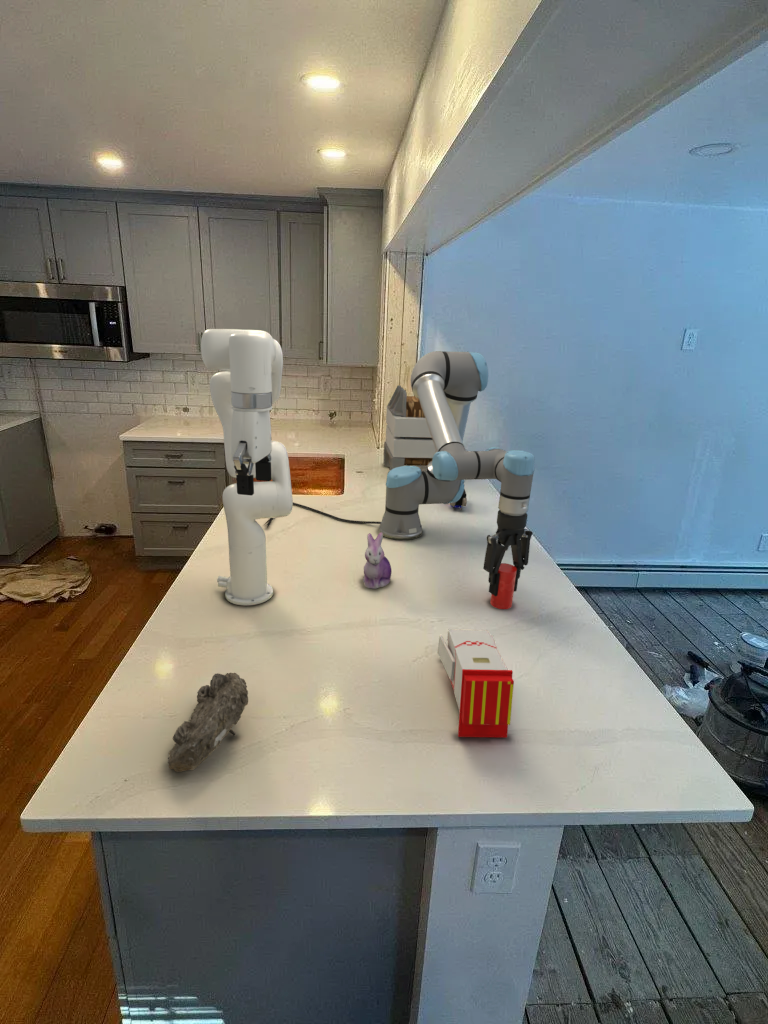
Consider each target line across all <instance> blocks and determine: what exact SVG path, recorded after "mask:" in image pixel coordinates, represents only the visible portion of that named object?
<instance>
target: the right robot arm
mask: <svg viewBox="0 0 768 1024" xmlns="http://www.w3.org/2000/svg"><path fill="white" fill-rule="evenodd" d="M488 382H489V368H488V363H487V361H486V358H485V356H484V355H483V354H481V353H480V352H475V351H474V352H472V351H469V350H468V351H445V350H444V351H442V350H434V351H430V352H427V353H426V354H424V355H423V356H421V357H420V358H419V359H418V360H417V361H416V363H415V364H414V366H413V368H412V371H411V374H410V388H411V390H412V391H411V392H412V394H413V395H414V396H415V397H416V398H418V399H419V401H420V404H421V407H422V410H423V413H424V416H425V419H426V422H427V425H428V428H429V431H430V434H431V437H432V440H433V443H434V446H435V452H434V456H433V460H432V461H431V462H430V463H429V464H428V466H426V470H422V469H421V467H420V466H407V465H404V466H401V467H397V468H394V469H392V470H390V469H389V470H388V472H387V475H386V480H385V481H386V482H385V504H384V505H385V507H384V508H385V509H384V513H383V515H382V519H381V521H368V520H367V521H365V520H353V519H346V518H342V517H338V516H336V515H332V514H329V513H327V512H324V511H321V510H318V509H317V508H313V507H311V506H307V505H303V504H300V503H297V502H293V506H296V507H300V508H304V509H306V510H310V511H312V512H316V513H318V514H321V515H324V516H326V517H329V518H332V519H335V520H338V521H341V522H345V523H351V524H352V523H353V524H366V525H367V524H369V525H371V524H373V525H378V533H381V532H382V533H383V538H384V537H385V538H387V539H389V540H395V541H410V540H415V539H418V538H420V537H421V536H422V535H423V525H422V524H421V518H420V515H419V507H420V505H435V504H437V505H439V504H443V505H448V504H450V503H454V502H457V501H458V500H459V499H460V498H461V496H462V494H463V491H464V489H465V481H469V480H470V481H471V480H497V481H498V482H500V489H499V490H500V491H499V500H498V506H497V508H498V511H497V516H496V525H497V529H496V531H495V533H494V534H492V535H490V534H487V536H486V538H485V539H486V549H485V555H484V562H483V566H482V567H483V568H482V569H483V570H484V571H486V572H487V573H488V584H489V585H488V593H489V594H490V595H491V594H492V595H494V596H497V594H498V586H499V578H500V573H498V570H499V567H500V565H501V563H503V559H504V556H505V554H506V552H507V551H508V550H509V547H510V550H511V558H512V565H513V566H515V567H516V568H517V572H516V579H515V587H514V593H515V592H517V589H518V583H519V579H520V577H521V572H522V571H523V570H525V566H528V564H529V558H530V557H529V556H530V547H531V546H530V545H531V539H532V537H533V531H531V530H530V529H528V528H526V527H527V522H528V512H529V507H530V501H531V499H530V498H531V493H532V487H533V486H532V485H533V479H534V473H535V460H536V459H535V455H534V454H533V453H532V452H529V451H525V450H518V449H513V450H508V451H507V450H506V449H503V448H500V447H497V446H492V447H489V448H487V449H485V450H466V448H465V445H464V443H463V442H464V437H465V433H466V427H467V423H468V419H469V418H468V417H469V413H470V409H471V405H472V403H473V402H475V401H476V400H477V399H478V394H479V392H480V393H481V392H483V391H485V390H486V388H487V386H488Z"/></svg>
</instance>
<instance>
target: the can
mask: <svg viewBox="0 0 768 1024" xmlns="http://www.w3.org/2000/svg"><path fill="white" fill-rule="evenodd" d="M516 572H517V568H516V567H515V566H514V565H513V564H510V563H505V562H501V565H500V567H499V570H498V573H500V578H499V586H498V594H497V596H494V595H492V594H491V593H490V602H489V604H490V605H491V606H492V607H493V608H495V609H498V610H509V609H511V608H512V607H513V600H514V594H515V592H514V587H515V579H516Z"/></svg>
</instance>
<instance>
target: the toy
mask: <svg viewBox="0 0 768 1024" xmlns="http://www.w3.org/2000/svg"><path fill="white" fill-rule="evenodd" d="M446 640H447V643H446V641H445V639H444V636H443V635H442V634H439V637H438V646H437V656H438V657H439V659H440V661H441V663H442V666H443V668H444V670H445V672H446V674H447V677H448V679H449V681H450V684H451V687H452V690H453V693H454V697H455V701H456V705H457V708H458V711H459V714H458V715H459V716H458V730H457V731H458V732H457V737H458V738H508V731H509V726H510V725H511V717H512V707H513V697H514V696H513V695H514V684H515V680H514V679H513V673H514V671H513V670H512V669H508V667H507V665H506V662H505V661H504V659H503V658H502V655H501V653H500V651H499V649H498V647H497V643H496V639H495V637H494V635H493V634H491V632H490V631H489V629H467V628H466V629H465V628H463V629H461V628H460V629H459V628H448V630H447V639H446Z"/></svg>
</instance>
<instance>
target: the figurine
mask: <svg viewBox="0 0 768 1024" xmlns="http://www.w3.org/2000/svg"><path fill="white" fill-rule="evenodd" d="M366 536H367V537H366V538H367V547H366V549H365V552H364V558H365V560H366V561H365V564H364V566H363V578H362V582H363V585H364V587H365V588H368V589H379V588H383V587H386V586H387V585H388V584H389V583H390V582H391V577H392V566H391V562H390V560H389V559H388V558H387V557H386V556H385V551H384V549H383V547H382V543H383V538H384V536H383V533H382V532H381V533H380V532H378V534H377V536H376V538H375V539H374V536H373V535H372V533H371V532H369V533H367V535H366Z"/></svg>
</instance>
